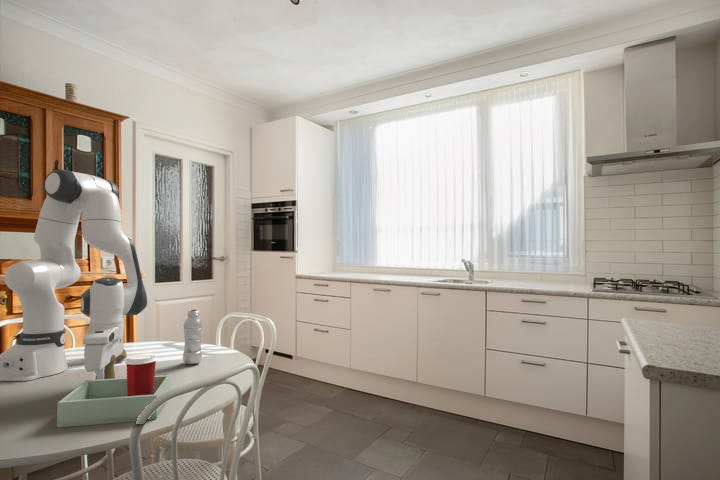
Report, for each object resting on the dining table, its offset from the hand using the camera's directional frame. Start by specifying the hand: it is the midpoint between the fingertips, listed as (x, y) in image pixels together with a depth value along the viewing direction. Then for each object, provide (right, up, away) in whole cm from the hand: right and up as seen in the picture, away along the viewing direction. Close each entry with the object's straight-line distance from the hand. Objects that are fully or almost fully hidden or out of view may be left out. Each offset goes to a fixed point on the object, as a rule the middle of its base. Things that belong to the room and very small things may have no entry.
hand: (105, 377), depth 117 cm
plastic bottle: (+14, -5, +27) cm, 31 cm away
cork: (0, -4, 0) cm, 4 cm away
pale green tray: (+13, -4, -13) cm, 19 cm away
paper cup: (+18, -4, -12) cm, 22 cm away
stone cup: (-19, -5, +31) cm, 37 cm away
